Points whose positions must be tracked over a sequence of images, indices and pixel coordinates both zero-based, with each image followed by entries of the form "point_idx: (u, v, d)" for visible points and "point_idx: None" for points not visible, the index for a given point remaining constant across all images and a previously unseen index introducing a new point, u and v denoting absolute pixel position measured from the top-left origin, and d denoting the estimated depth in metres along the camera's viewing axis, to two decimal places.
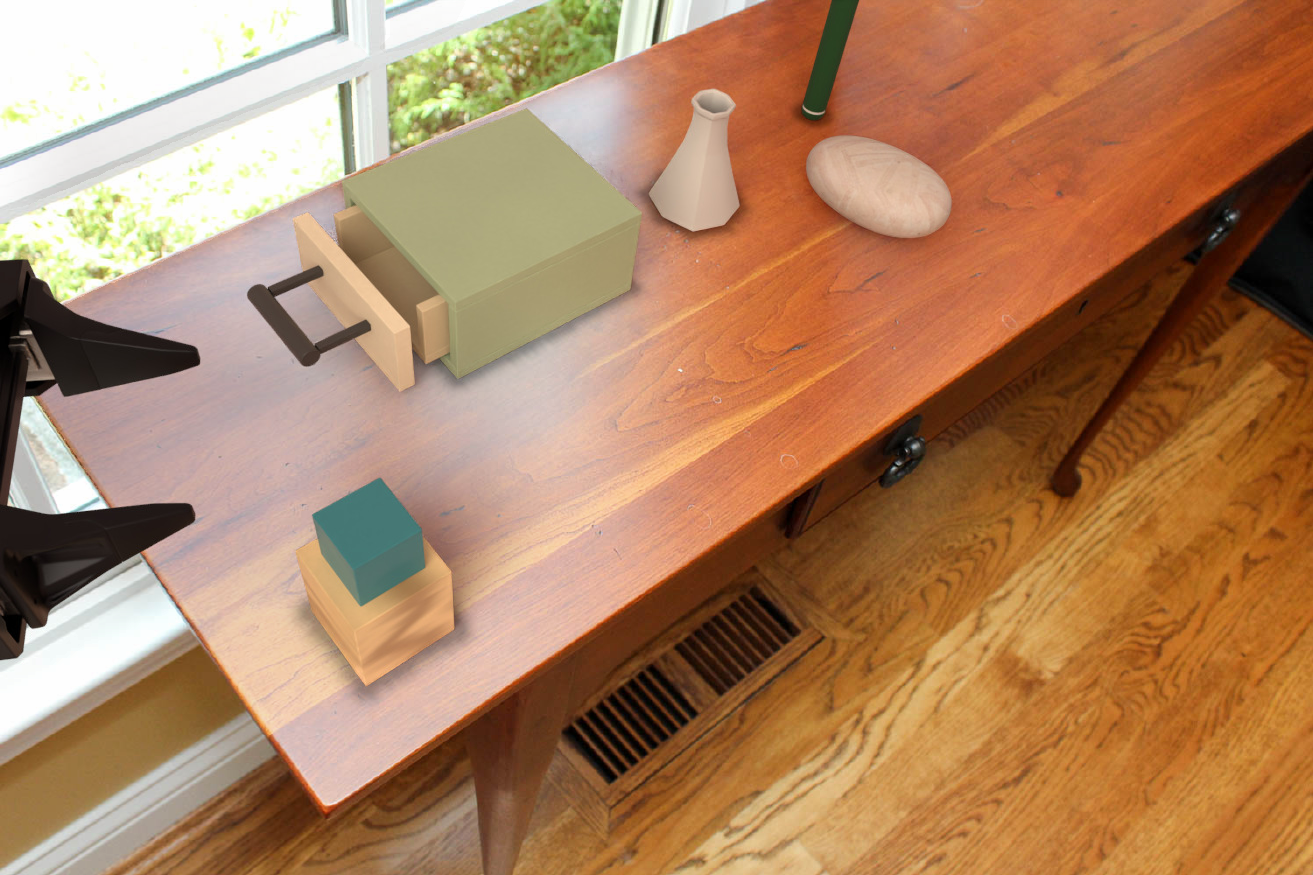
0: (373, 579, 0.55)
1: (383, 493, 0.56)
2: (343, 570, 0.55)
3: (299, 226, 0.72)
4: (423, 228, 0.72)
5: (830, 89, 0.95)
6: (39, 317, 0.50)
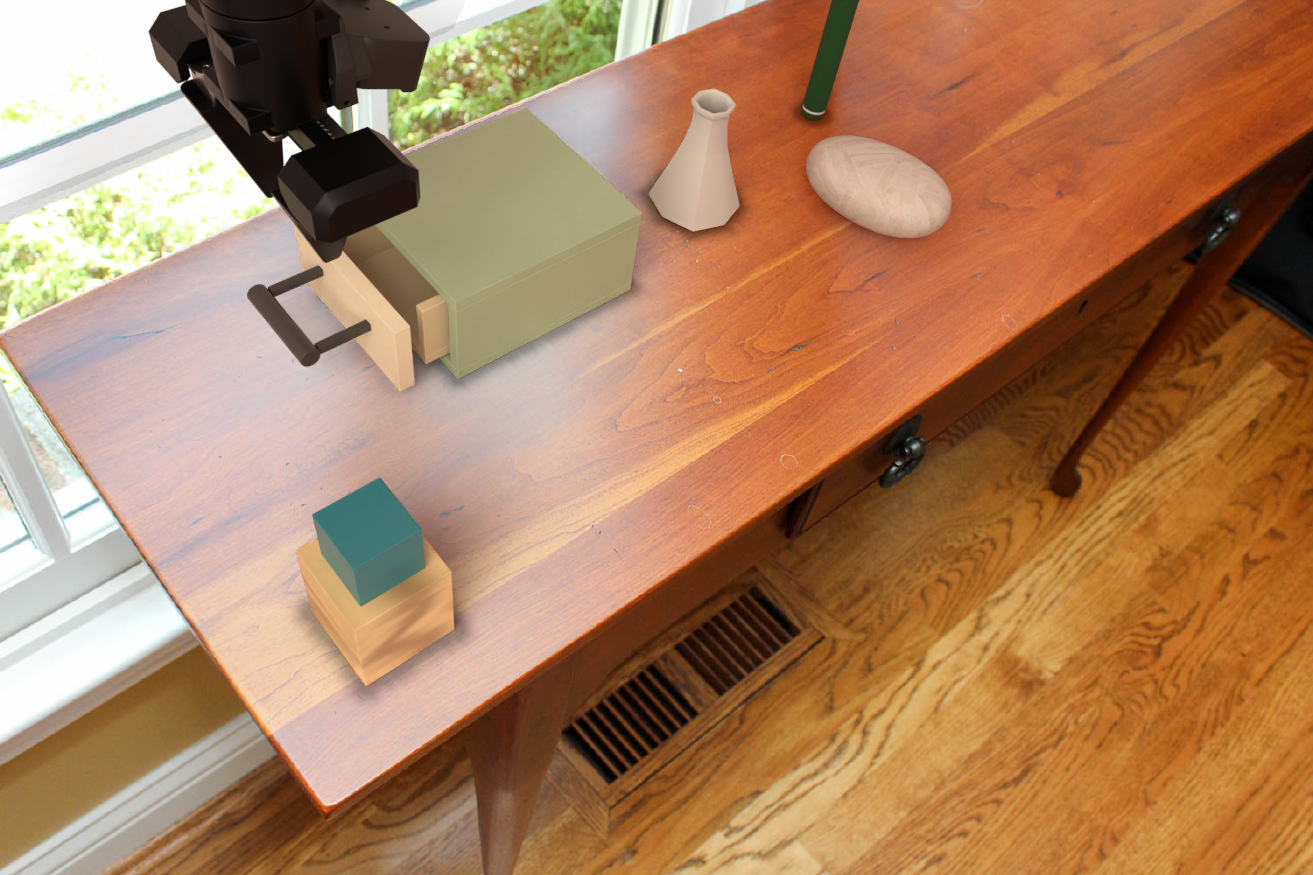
0: (373, 579, 0.55)
1: (383, 493, 0.56)
2: (343, 570, 0.55)
3: None
4: (423, 228, 0.72)
5: (830, 89, 0.95)
6: None
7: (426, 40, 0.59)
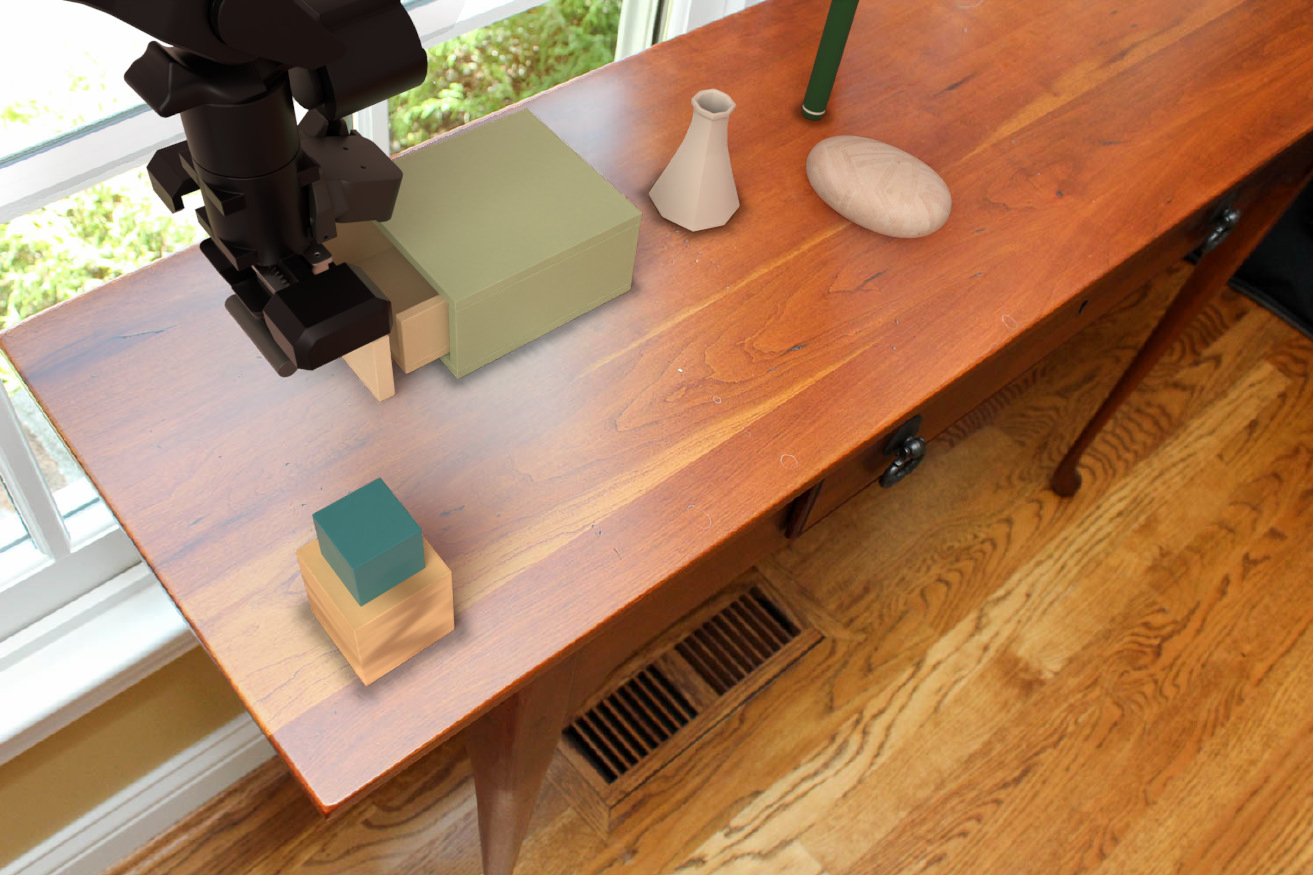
0: (373, 579, 0.55)
1: (383, 493, 0.56)
2: (343, 570, 0.55)
3: None
4: (423, 228, 0.72)
5: (830, 89, 0.95)
6: None
7: (399, 177, 0.64)
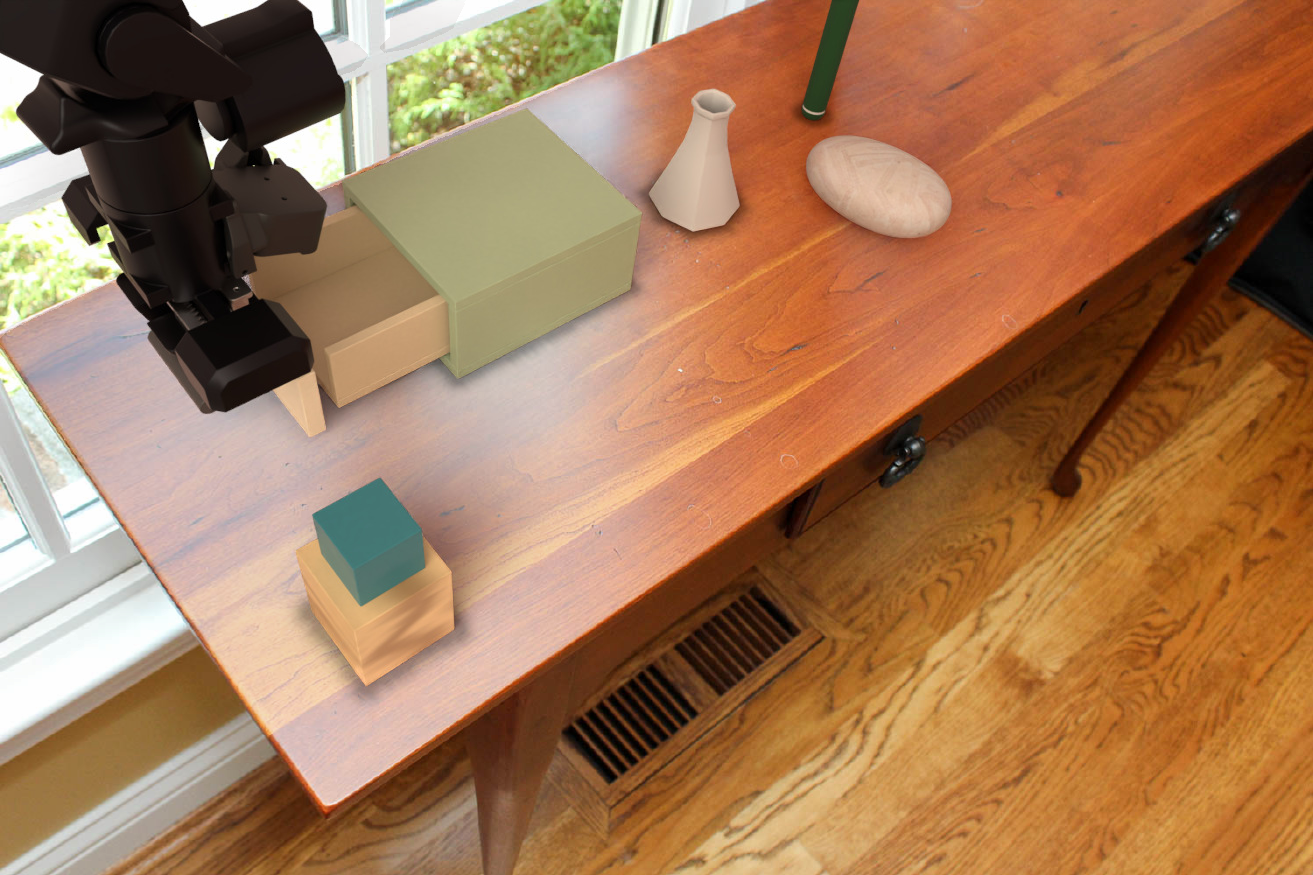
0: (373, 579, 0.55)
1: (383, 493, 0.56)
2: (343, 570, 0.55)
3: None
4: (423, 228, 0.72)
5: (830, 89, 0.95)
6: None
7: (322, 208, 0.62)
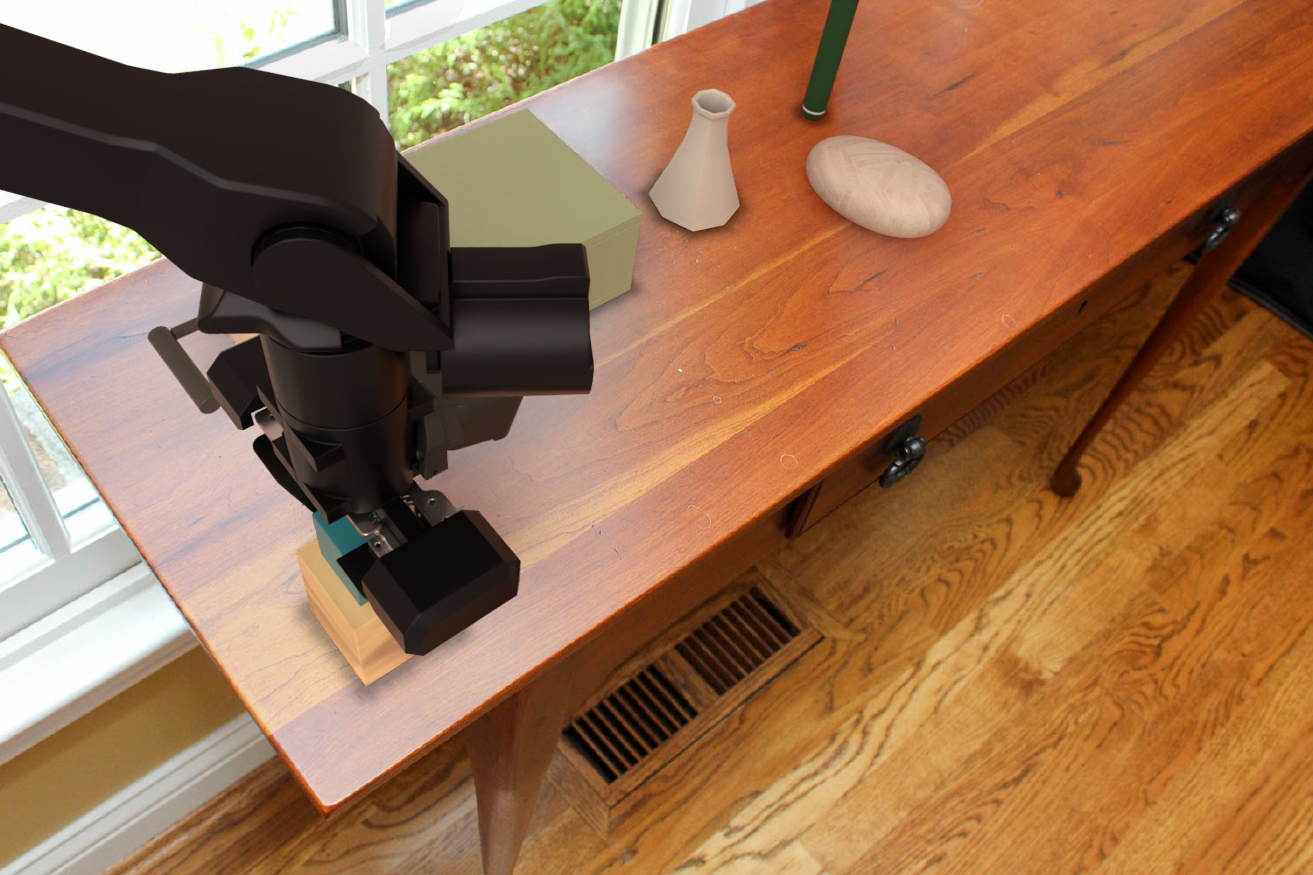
0: None
1: None
2: None
3: None
4: None
5: (830, 89, 0.95)
6: None
7: None
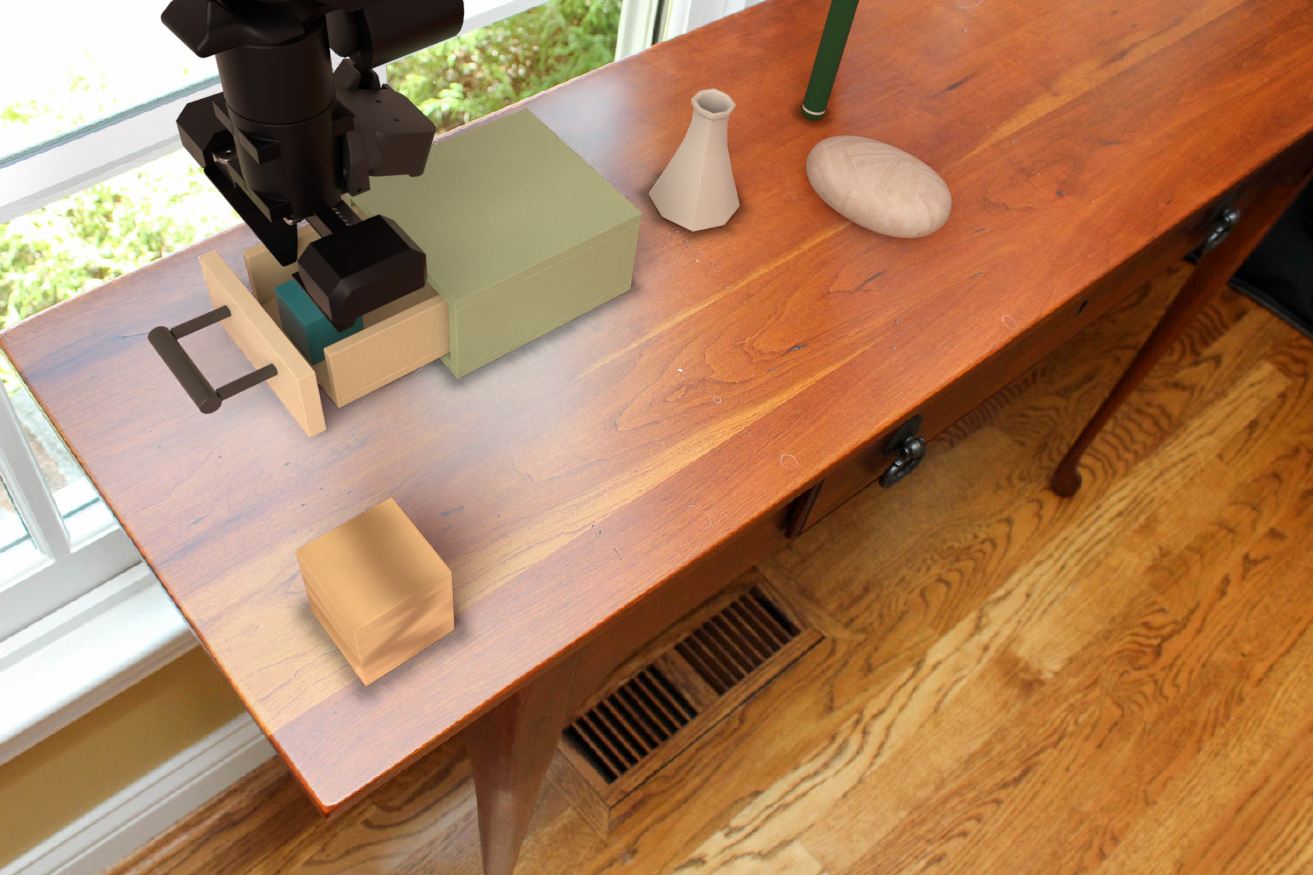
0: (322, 340, 0.70)
1: None
2: (298, 333, 0.70)
3: (205, 265, 0.69)
4: (423, 228, 0.72)
5: (830, 89, 0.95)
6: None
7: (432, 130, 0.64)
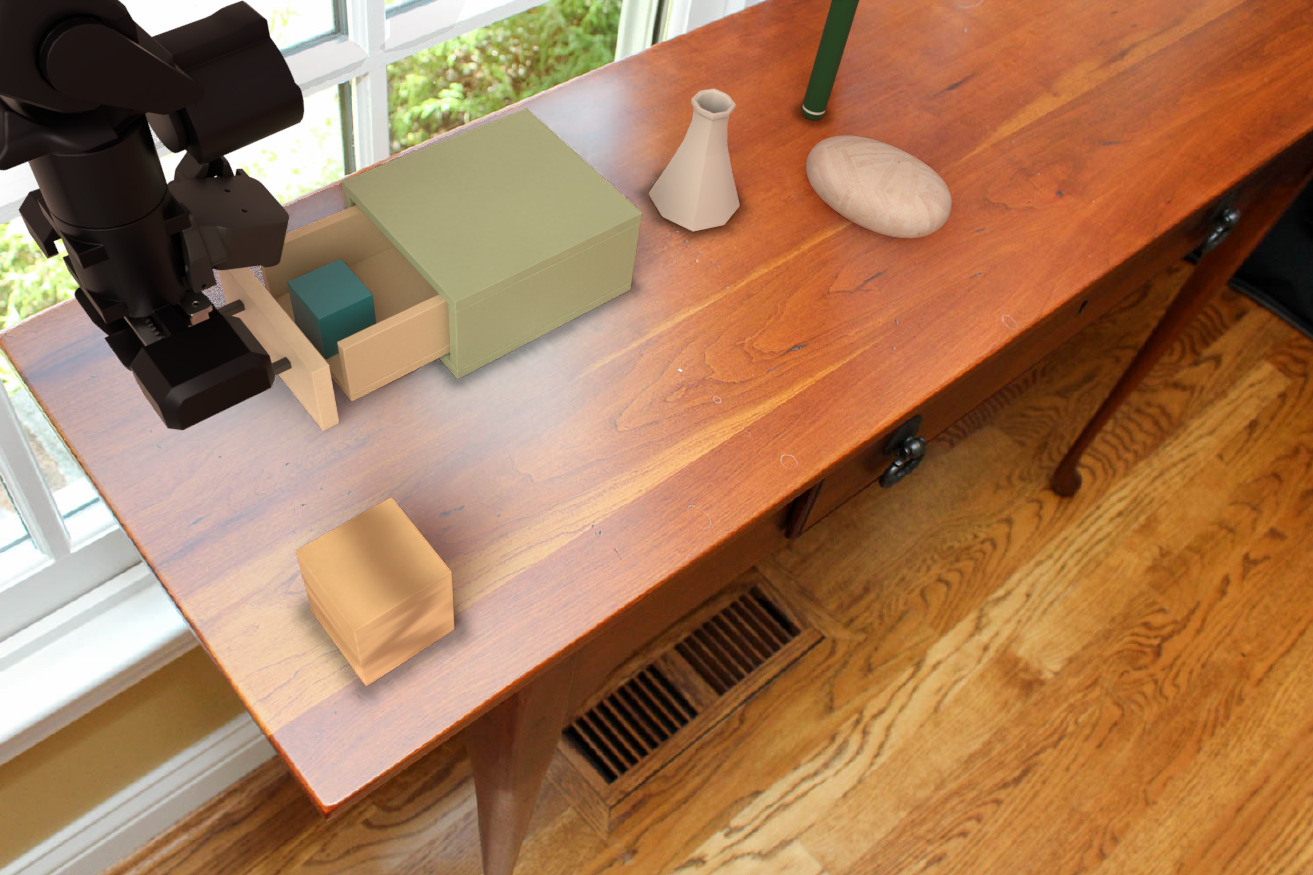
0: (335, 334, 0.71)
1: (343, 269, 0.71)
2: (311, 327, 0.70)
3: None
4: (423, 228, 0.72)
5: (830, 89, 0.95)
6: None
7: (284, 220, 0.61)
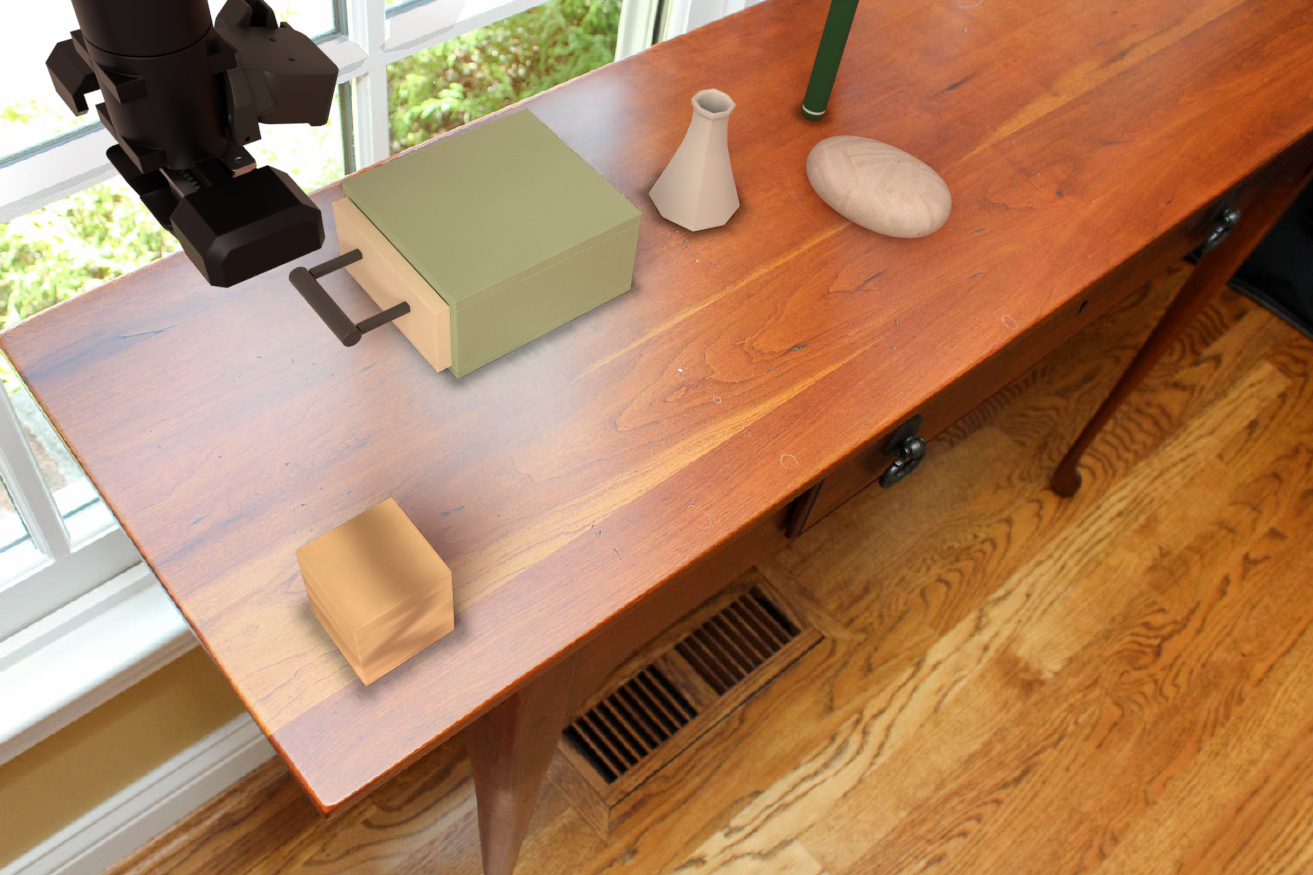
0: None
1: None
2: None
3: (339, 210, 0.74)
4: (423, 228, 0.72)
5: (830, 89, 0.95)
6: None
7: (334, 72, 0.56)
